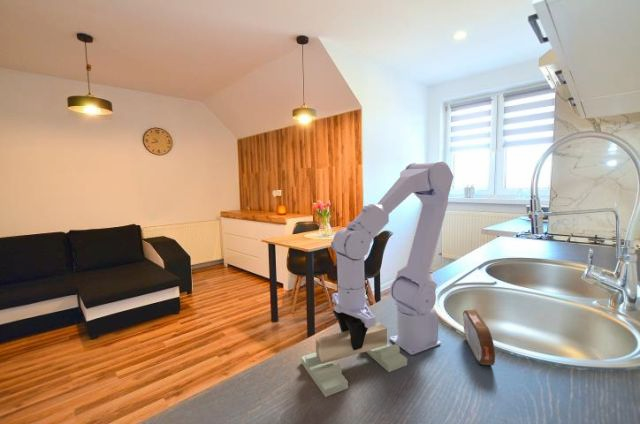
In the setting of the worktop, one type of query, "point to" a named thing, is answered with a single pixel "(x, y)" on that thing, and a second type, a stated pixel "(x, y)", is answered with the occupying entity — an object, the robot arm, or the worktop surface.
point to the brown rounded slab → (479, 337)
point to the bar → (349, 344)
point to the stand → (331, 375)
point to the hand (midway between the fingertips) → (352, 344)
